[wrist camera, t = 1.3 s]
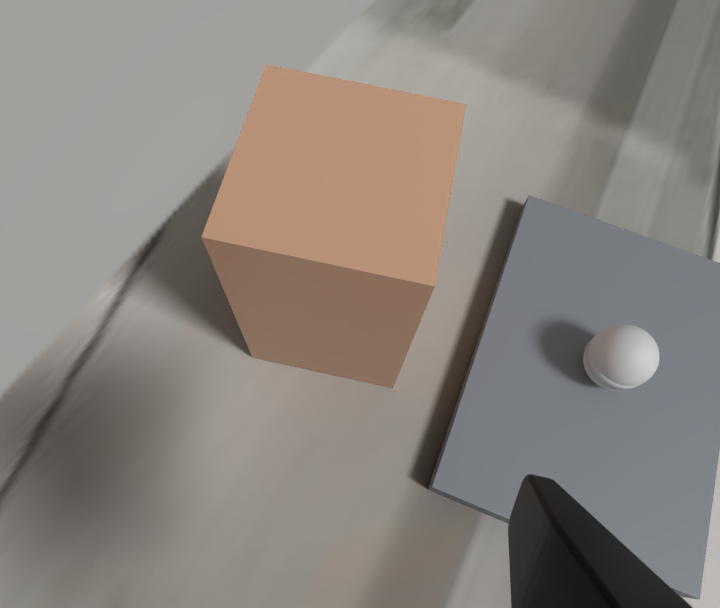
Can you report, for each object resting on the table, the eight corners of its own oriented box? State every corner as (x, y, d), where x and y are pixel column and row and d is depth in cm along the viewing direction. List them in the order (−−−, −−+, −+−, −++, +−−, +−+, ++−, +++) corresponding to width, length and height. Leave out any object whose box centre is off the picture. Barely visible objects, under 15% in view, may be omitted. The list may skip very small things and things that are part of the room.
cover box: (392, 388, 23) (434, 286, 14) (252, 357, 23) (201, 237, 14) (416, 262, 25) (466, 104, 16) (288, 235, 26) (266, 64, 16)
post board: (682, 596, 20) (760, 608, 17) (427, 489, 21) (447, 478, 18) (728, 281, 26) (794, 237, 22) (522, 207, 27) (552, 154, 23)
